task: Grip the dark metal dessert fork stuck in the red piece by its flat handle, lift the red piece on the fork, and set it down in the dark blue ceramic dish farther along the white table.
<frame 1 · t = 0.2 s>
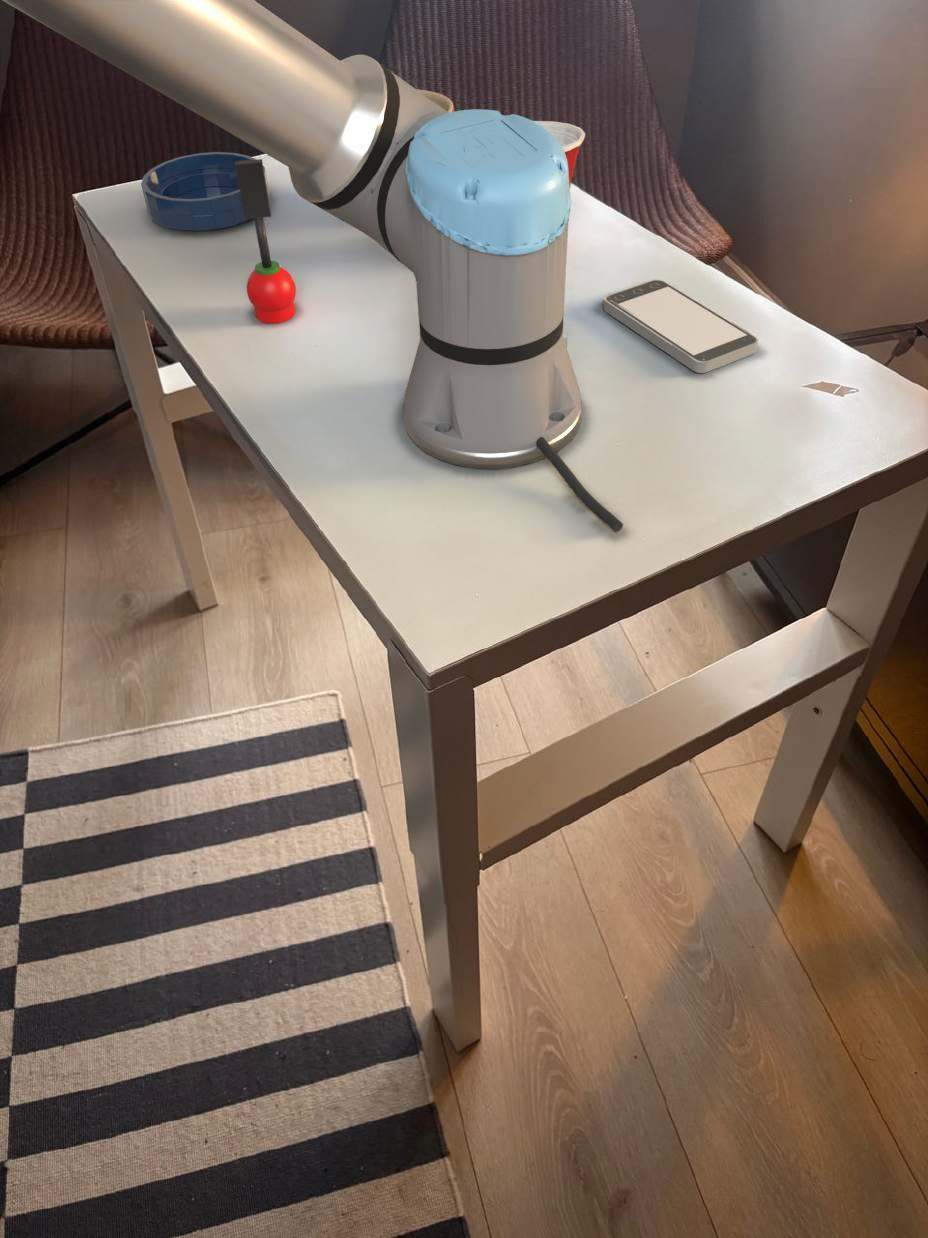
plastic cup: (530, 247, 111), on the table
planter: (405, 206, 120), on the table
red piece: (275, 313, 102), on the table
smartphone: (677, 330, 97), on the table
dish: (210, 209, 121), on the table
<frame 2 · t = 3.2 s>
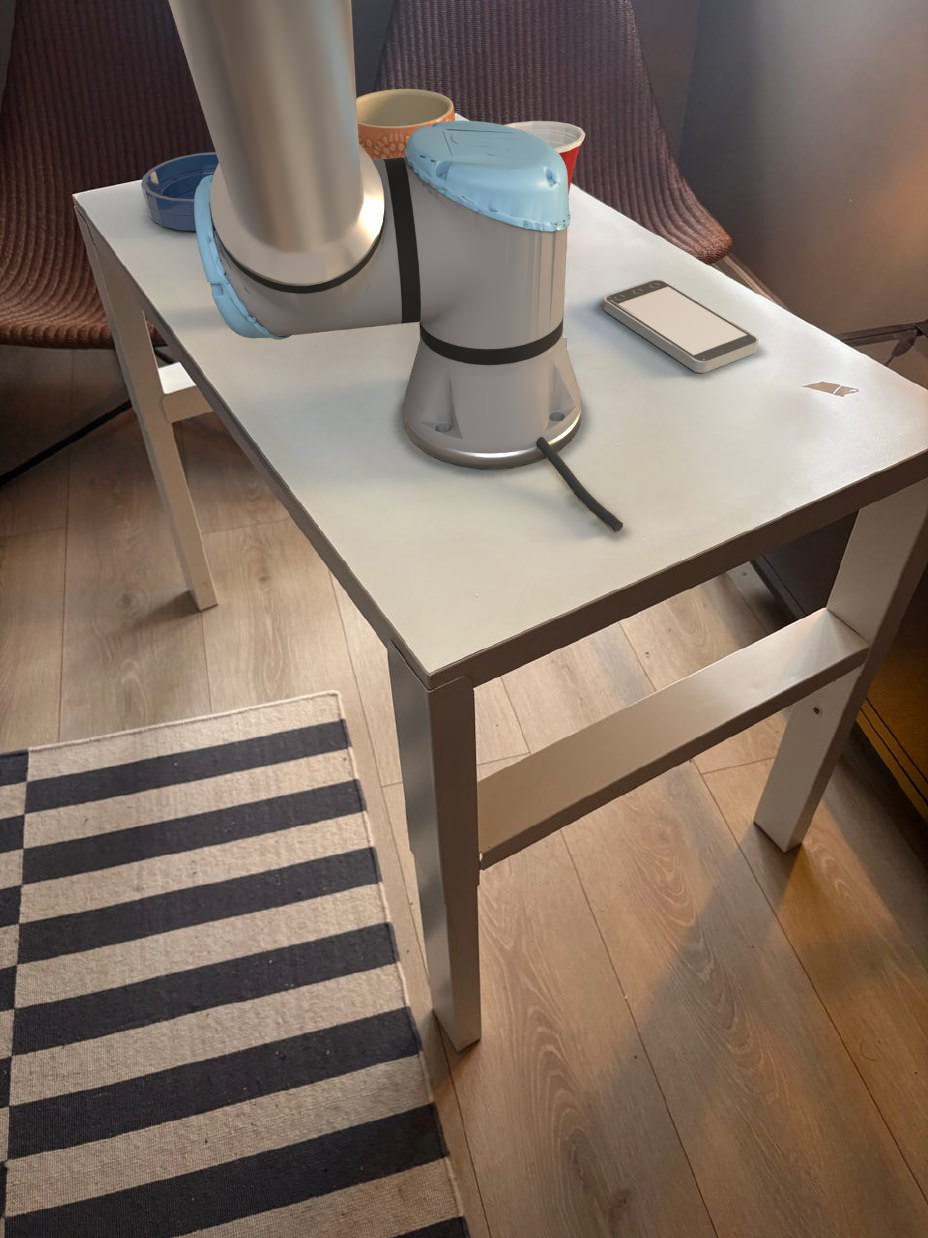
hand: (286, 33, 84), 25 cm above the table, tool pointing down, fingers open, 13 cm apart
nothing on the table moved.
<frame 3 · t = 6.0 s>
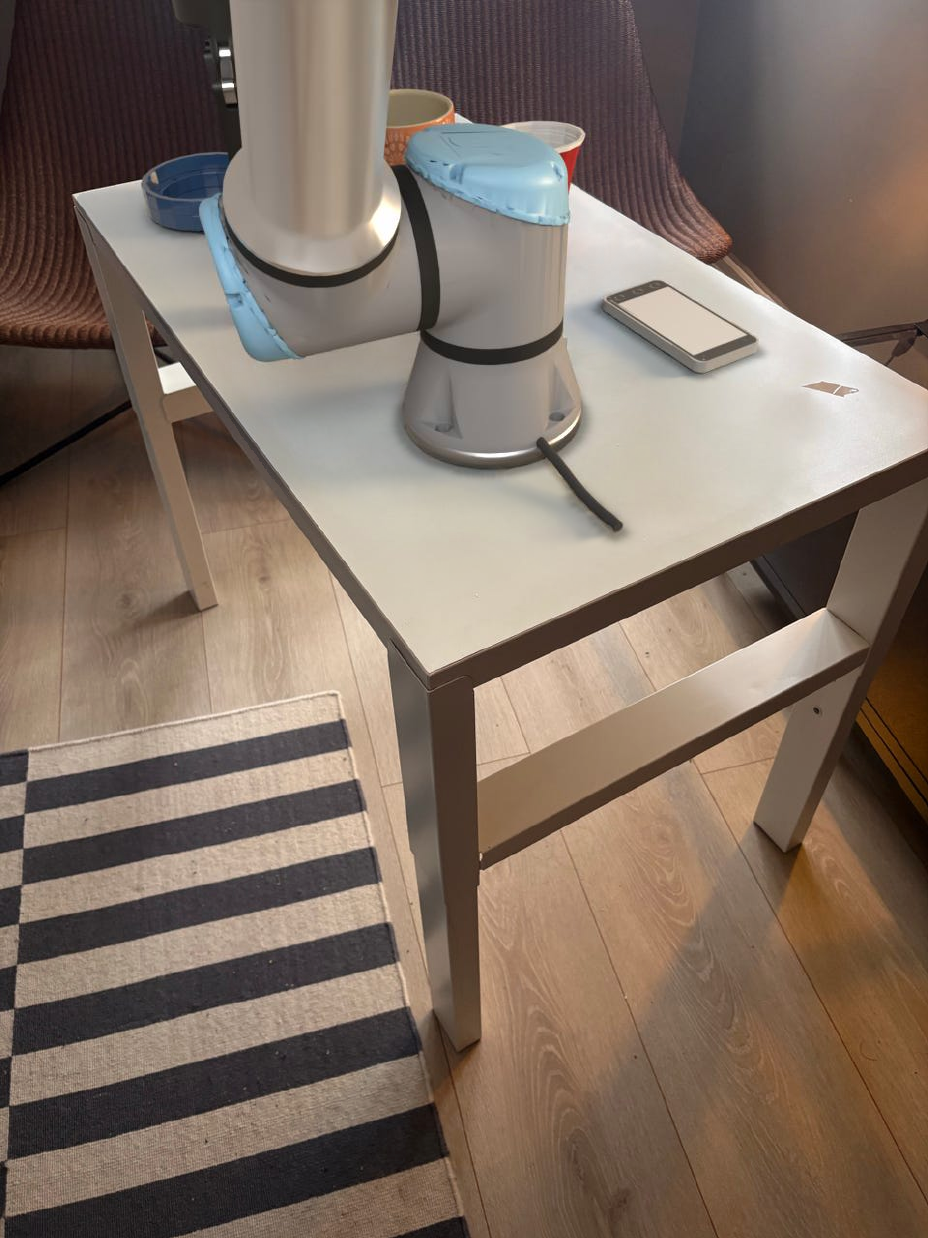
hand: (263, 247, 97), 7 cm above the table, tool pointing down, fingers closed on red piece
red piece: (275, 313, 102), on the table, touching gripper
everything else where it was.
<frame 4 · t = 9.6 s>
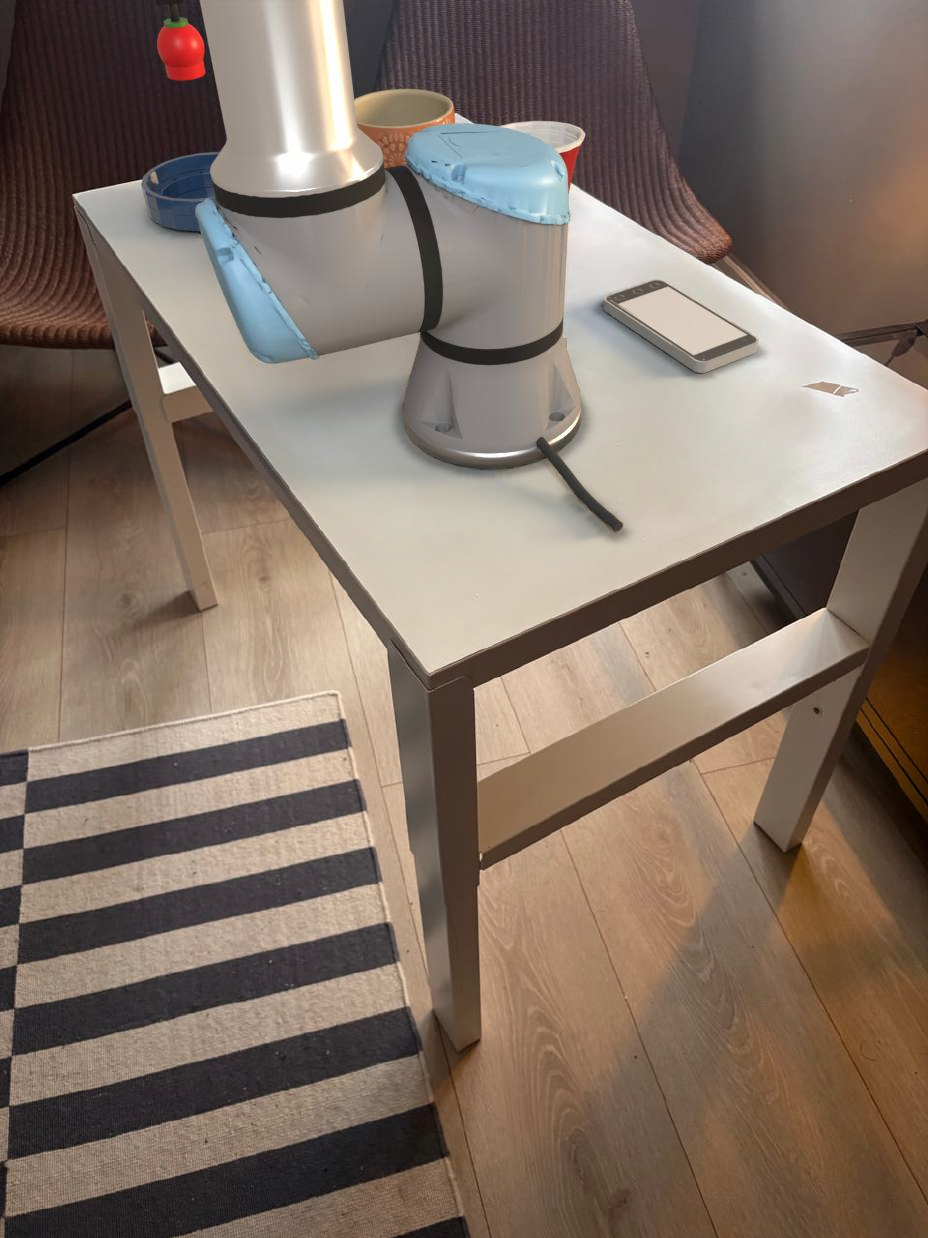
hand: (171, 0, 103), 23 cm above the table, tool pointing down, fingers closed on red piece
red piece: (186, 74, 107), point 16 cm above the table, touching gripper
everything else where it was.
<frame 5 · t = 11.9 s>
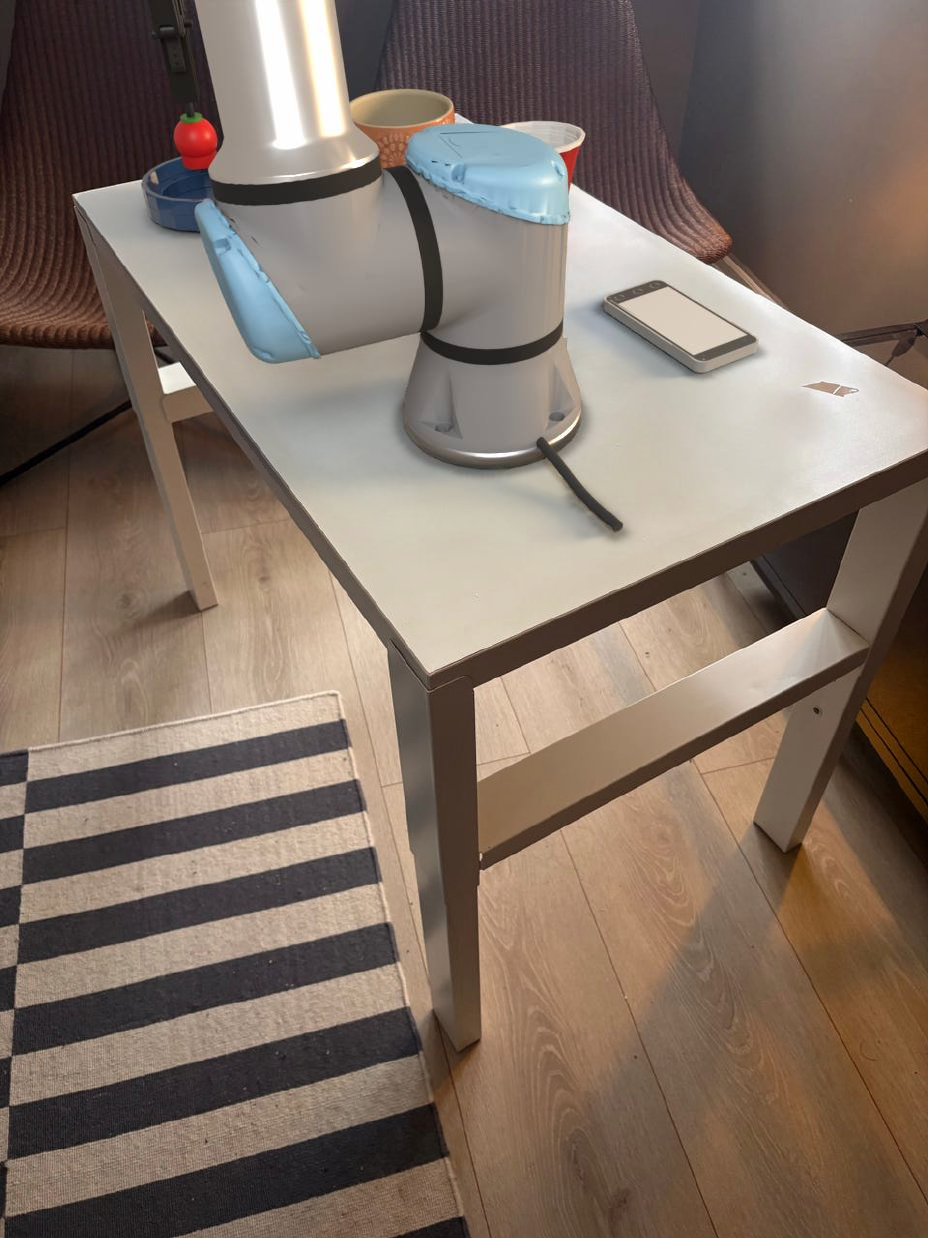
hand: (187, 98, 112), 12 cm above the table, tool pointing down, fingers closed on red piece
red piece: (200, 162, 117), point 5 cm above the table, touching gripper
everything else where it was.
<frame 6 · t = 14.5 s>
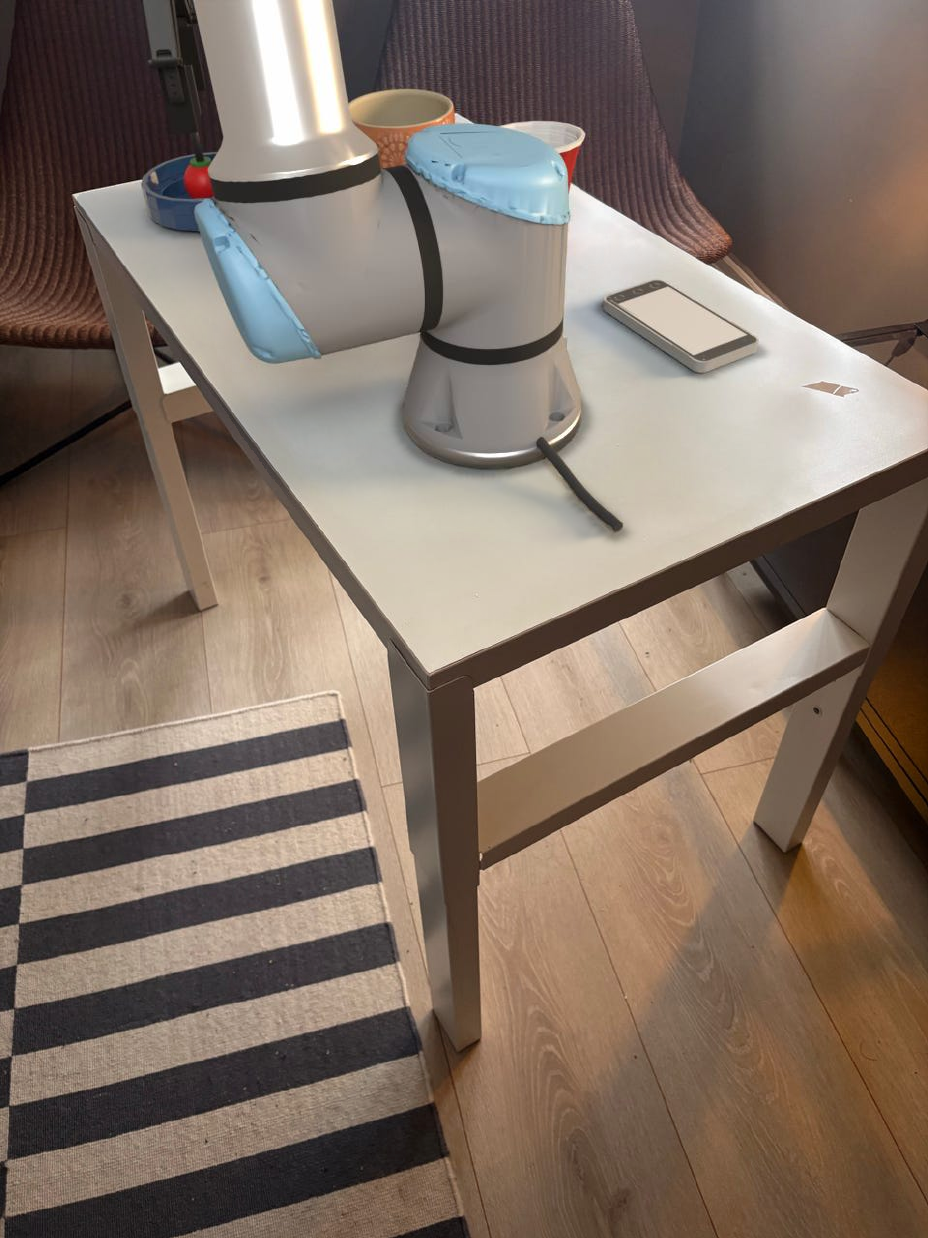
hand: (190, 110, 113), 11 cm above the table, tool pointing down, fingers open, 13 cm apart
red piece: (209, 203, 120), point 1 cm above the table, touching dish
everything else where it was.
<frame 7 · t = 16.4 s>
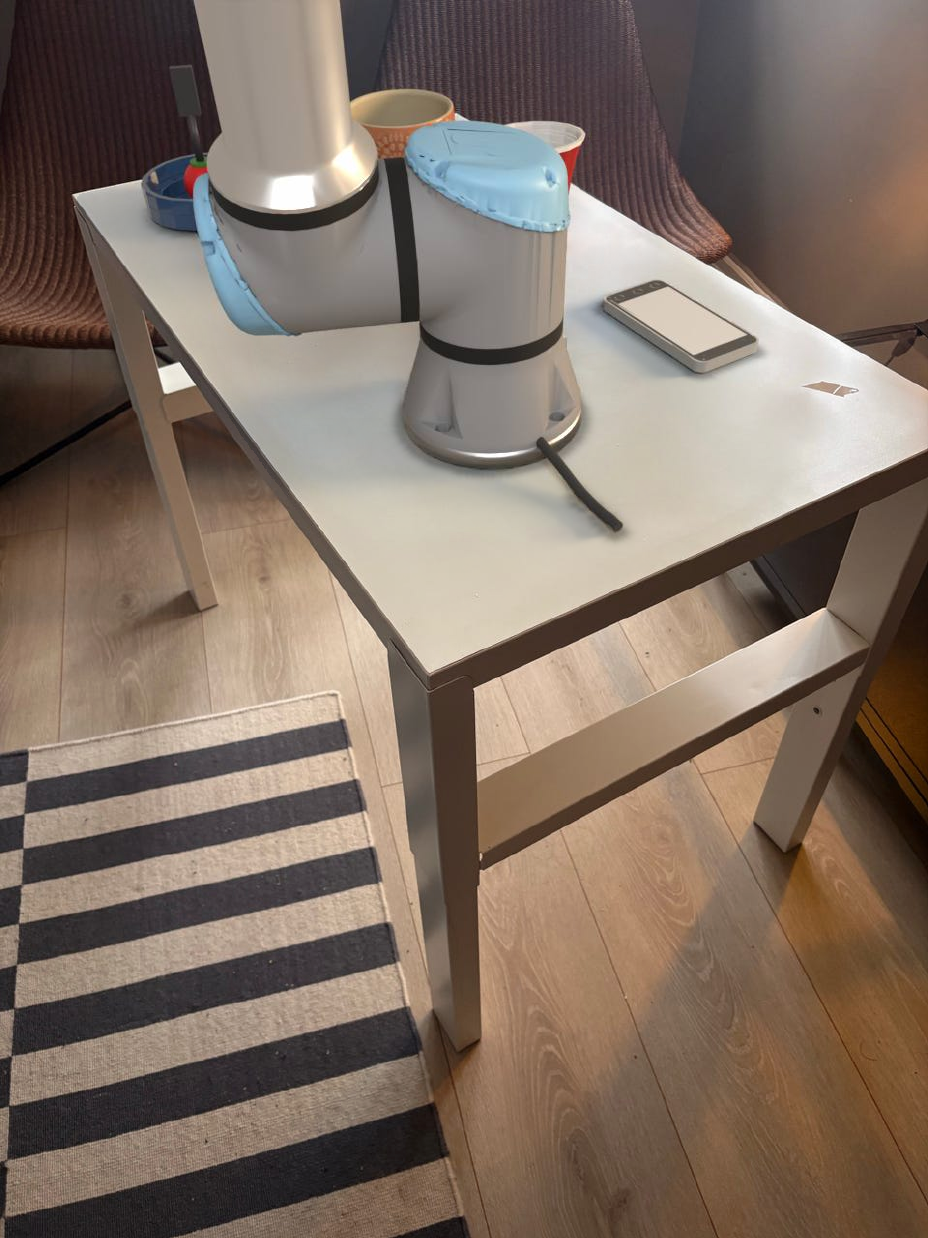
nothing on the table moved.
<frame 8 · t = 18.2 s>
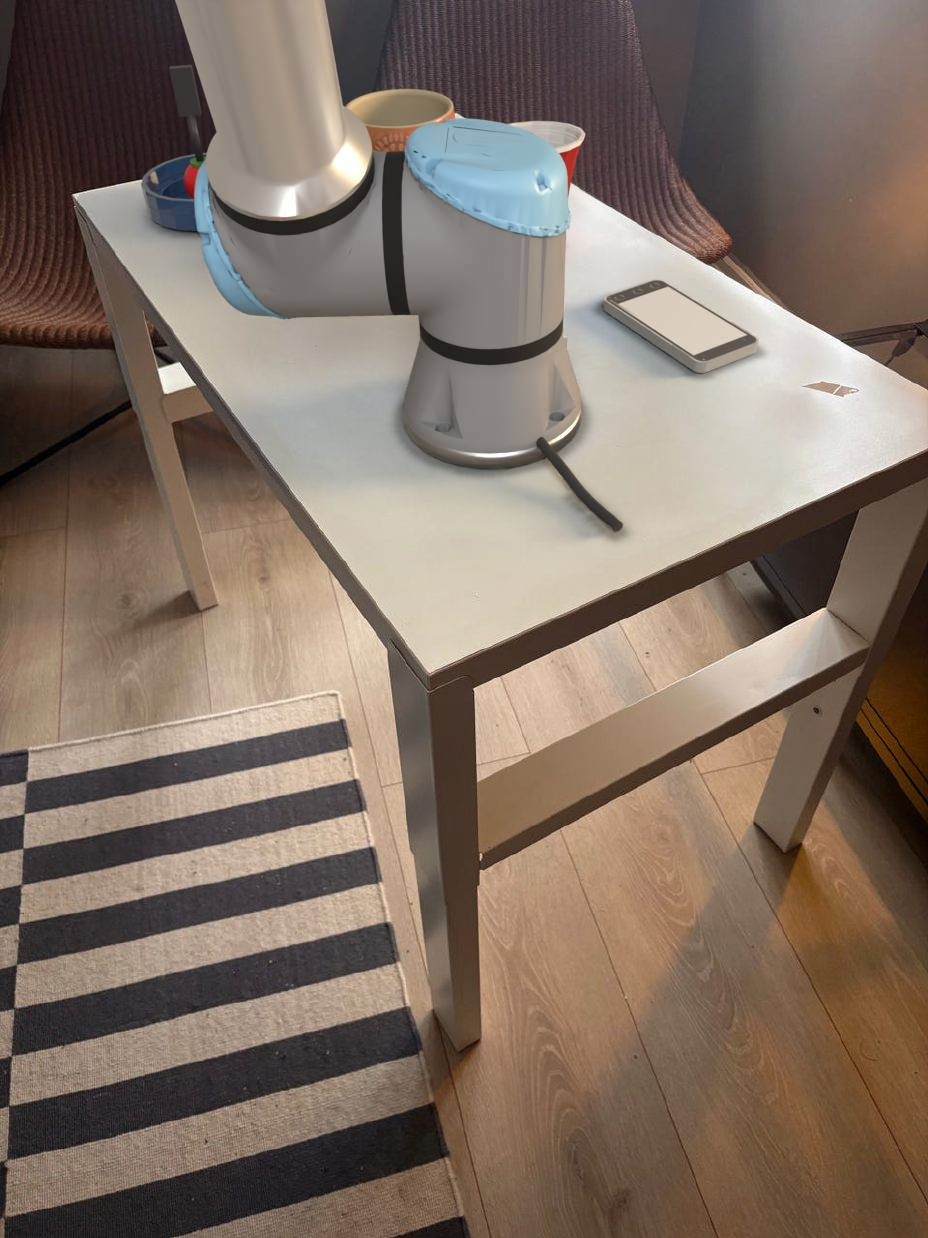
nothing on the table moved.
at the end: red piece inside the target area in the dish (0.1 cm from its centre), point 0.6 cm above the dish's base; the gripper is holding nothing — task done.
